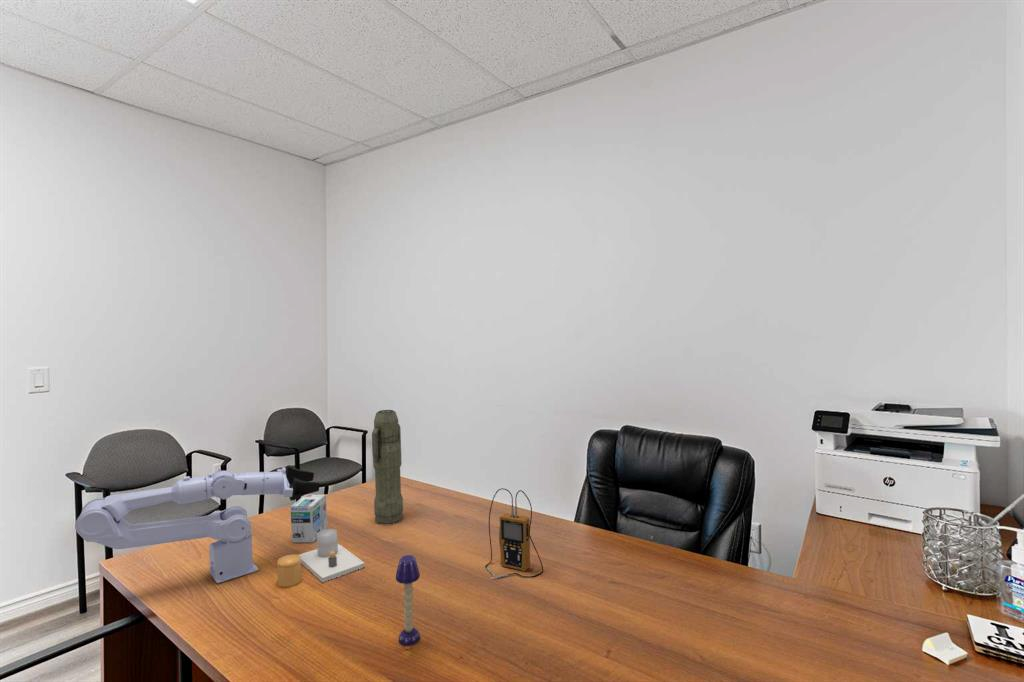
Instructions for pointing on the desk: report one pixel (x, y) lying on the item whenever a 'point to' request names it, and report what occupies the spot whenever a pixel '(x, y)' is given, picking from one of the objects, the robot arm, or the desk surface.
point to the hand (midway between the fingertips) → (316, 481)
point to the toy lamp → (408, 598)
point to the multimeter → (514, 540)
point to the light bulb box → (308, 518)
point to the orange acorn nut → (289, 570)
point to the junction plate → (330, 557)
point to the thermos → (387, 467)
